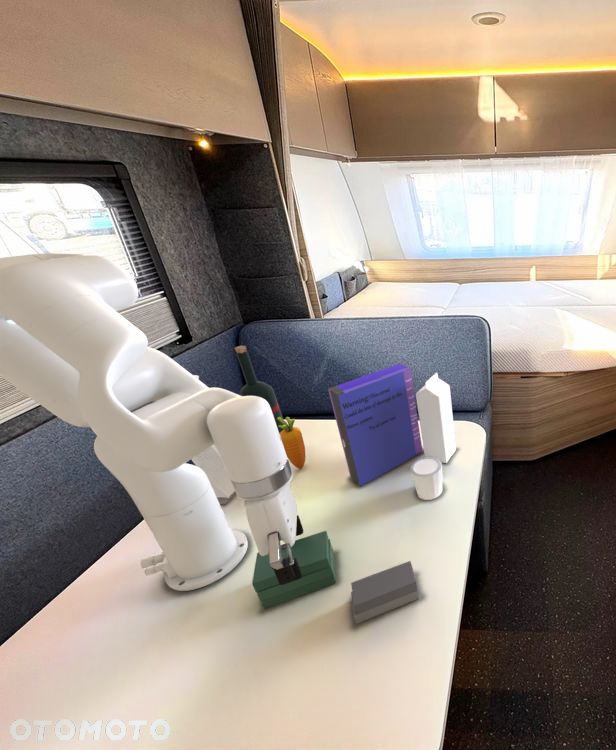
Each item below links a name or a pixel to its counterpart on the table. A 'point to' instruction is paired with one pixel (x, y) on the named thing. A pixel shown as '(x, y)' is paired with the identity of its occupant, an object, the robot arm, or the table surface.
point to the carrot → (292, 442)
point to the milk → (436, 419)
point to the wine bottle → (257, 385)
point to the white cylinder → (427, 477)
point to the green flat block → (306, 551)
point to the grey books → (383, 592)
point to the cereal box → (377, 422)
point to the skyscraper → (215, 472)
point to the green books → (300, 585)
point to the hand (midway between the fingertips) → (292, 556)
